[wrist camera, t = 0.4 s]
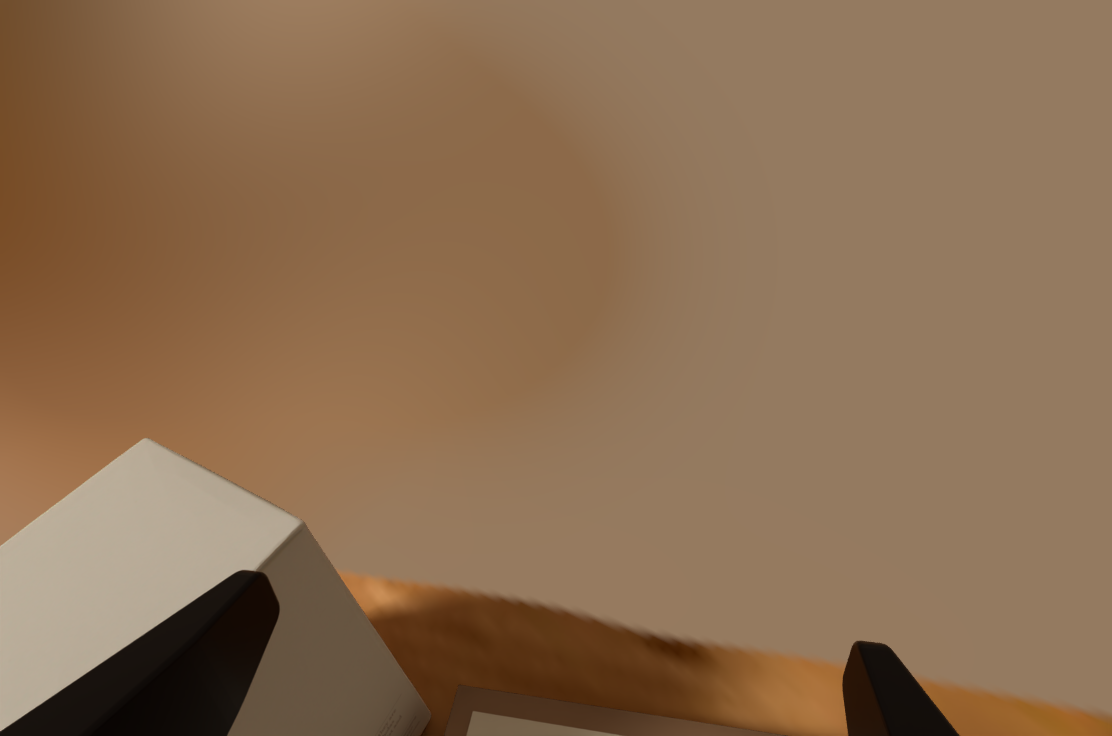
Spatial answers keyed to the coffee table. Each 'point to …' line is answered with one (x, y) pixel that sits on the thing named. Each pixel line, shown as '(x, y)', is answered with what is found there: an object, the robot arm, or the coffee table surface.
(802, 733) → the coffee table surface
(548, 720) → the brown framed square mirror
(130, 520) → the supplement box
